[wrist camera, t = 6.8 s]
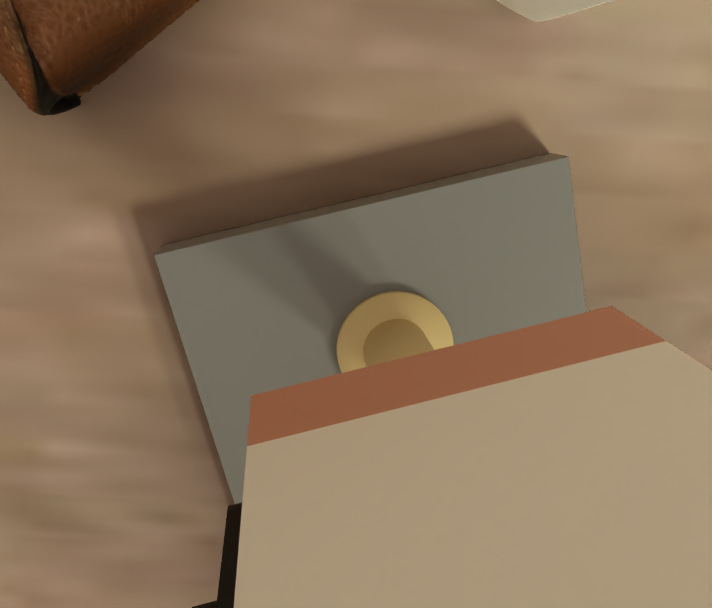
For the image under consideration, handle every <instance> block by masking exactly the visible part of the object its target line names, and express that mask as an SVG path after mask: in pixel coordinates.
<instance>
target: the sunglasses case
mask: <svg viewBox="0 0 712 608" xmlns="http://www.w3.org/2000/svg"><path fill="white" fill-rule="evenodd" d="M198 1H199V0H0V73H1V74H2V75H3V76H4V77H5V79H6V80H7V81H8V83H9V84H10V85H11V87H12V88H13V89H14V90H15V91H16V93H17V94H18V95H19V97H20V98H21V99H22V100H23V101H24V102H25V103H26V104H27V106H28V108H29V109H31V110H32V111H34V112H35V113H37V114H40V115H55V114H58V113H61V112H65V111H68V110H70V109H72V108H75V107H77V106H79V105H81V103H80V102H81V101H80V97H81V95H82V94H83V93H85V92H89V91H90V90H91V89H92V88H93V86H94V85H98V84H99V83H100V82H101V81H103V80H104V79H106V78H107V77H108V76H109V75H110V74H111V73H113V72H114V71H116V70H117V68H118V67H119V66H121V65H122V64H123V63H125V62H126V61H127V60H128V59H129V58H131V57H132V56H133V55H134V54H135V53H136V52H137V51H139V50H140V49H142V48H143V47H144V46H145V45H146V44H147V43H148V42H149V41H152V40H153V39H154V38H155V37H156V36H157V35H158V34H159V33H160V32H161V31H162V30H163V29H165V28H166V27H167V26H168V25H170V24H171V23H173V22H174V21H175V20H176V19H177V18H179V17H180V16H181V15H182V14H183V13H184V12H185V11H186V10H188V9H189V8H191V7H192V6H193V5H194V4H195V3H196V2H198Z"/></svg>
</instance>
